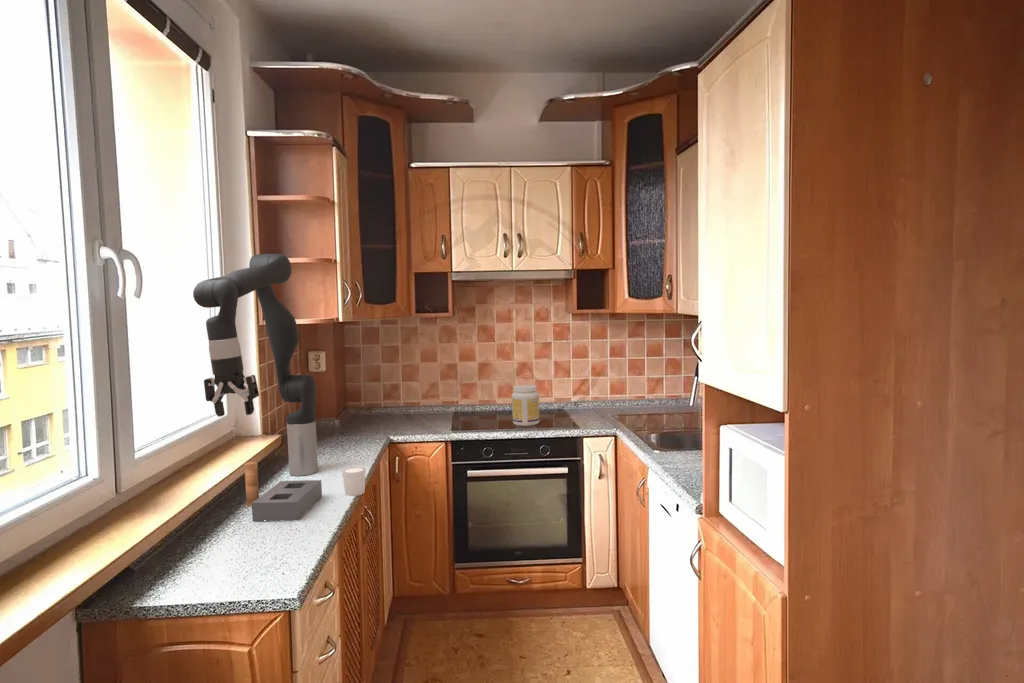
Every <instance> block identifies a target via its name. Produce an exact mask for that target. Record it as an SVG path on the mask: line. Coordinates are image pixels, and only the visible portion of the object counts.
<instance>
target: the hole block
mask: <svg viewBox="0 0 1024 683" xmlns="http://www.w3.org/2000/svg"><path fill="white" fill-rule="evenodd" d="M322 487H323V486H322V480H321V479H315V480H314V479H313V480H309V479H308V480H306V479H304V480H281V481H279V482H278V483H276V484H275V485H274V486H272V487H271V488H270V489H268V490H267V491H266V492H264V493H262V494H261V495H259V498H258V499H256V500H255V501H254V502H252V507H251V514H252V515H251V516H252V522H253V521H257V522H271V521H270V520H298V519H299V518H300V517H301V516H302V515H303V514H304V513H305V512H306V511H307V510H308V509H309V508H310V507H311V506H312V505H313V504H314V505H315V504H316V503H317V502H319V500H320V499H321V498H322V497H323V490H322ZM314 505H313V506H314ZM313 506H312V507H313ZM312 507H311V508H312ZM311 508H310V509H311ZM310 509H309V510H310ZM309 510H308V511H309ZM308 511H307V512H308ZM307 512H306V513H307ZM306 513H305V514H306ZM305 514H304V515H305ZM304 515H303V516H304ZM303 516H302V517H303ZM302 517H301V518H302ZM301 518H300V519H301ZM300 519H299V520H300ZM264 520H266V521H264ZM299 520H298V521H299Z"/></svg>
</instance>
